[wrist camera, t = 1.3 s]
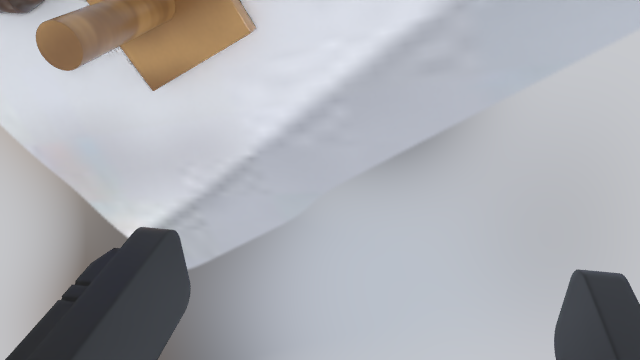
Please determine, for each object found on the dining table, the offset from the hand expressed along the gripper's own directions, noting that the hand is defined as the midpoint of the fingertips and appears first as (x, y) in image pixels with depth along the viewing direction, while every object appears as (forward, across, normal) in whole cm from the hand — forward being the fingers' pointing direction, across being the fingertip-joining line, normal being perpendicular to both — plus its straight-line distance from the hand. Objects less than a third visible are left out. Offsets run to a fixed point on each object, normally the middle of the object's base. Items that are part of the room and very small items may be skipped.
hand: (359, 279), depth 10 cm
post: (+24, +16, -1) cm, 29 cm away
